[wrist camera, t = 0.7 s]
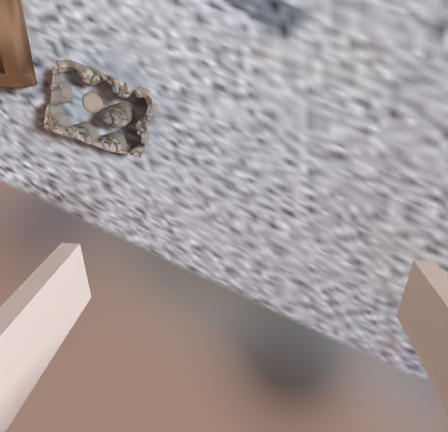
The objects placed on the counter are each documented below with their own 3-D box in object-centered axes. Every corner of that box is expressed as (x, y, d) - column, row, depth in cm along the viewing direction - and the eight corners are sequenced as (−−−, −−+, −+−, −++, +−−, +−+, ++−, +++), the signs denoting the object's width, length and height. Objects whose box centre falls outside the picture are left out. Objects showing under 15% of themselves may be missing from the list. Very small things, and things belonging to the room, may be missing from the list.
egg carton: (56, 119, 39) (35, 127, 35) (68, 51, 35) (47, 51, 32) (145, 157, 40) (134, 168, 36) (166, 94, 36) (155, 99, 33)
